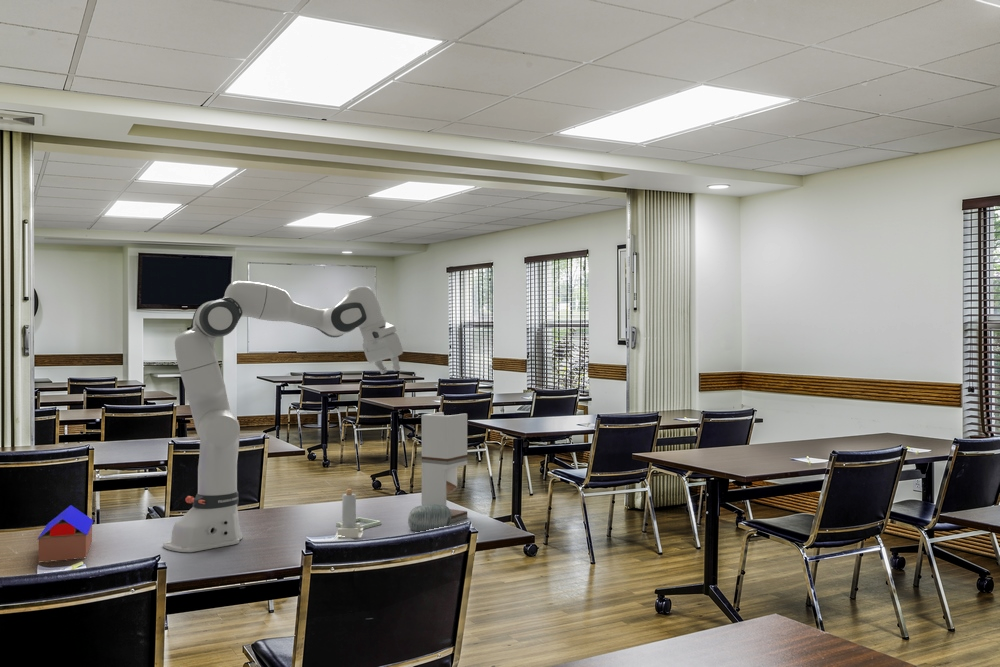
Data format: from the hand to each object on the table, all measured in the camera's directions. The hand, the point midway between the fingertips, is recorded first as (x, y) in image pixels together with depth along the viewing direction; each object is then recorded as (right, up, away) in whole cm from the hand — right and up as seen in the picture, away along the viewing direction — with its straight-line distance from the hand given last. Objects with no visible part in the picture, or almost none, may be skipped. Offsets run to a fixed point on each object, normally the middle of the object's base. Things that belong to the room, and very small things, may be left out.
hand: (390, 371), depth 266 cm
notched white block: (+18, -50, +3) cm, 53 cm away
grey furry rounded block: (+14, -49, -14) cm, 53 cm away
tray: (-9, -49, -9) cm, 51 cm away
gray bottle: (-10, -48, -22) cm, 54 cm away
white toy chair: (-10, -49, -20) cm, 54 cm away
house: (-87, -50, -38) cm, 107 cm away
